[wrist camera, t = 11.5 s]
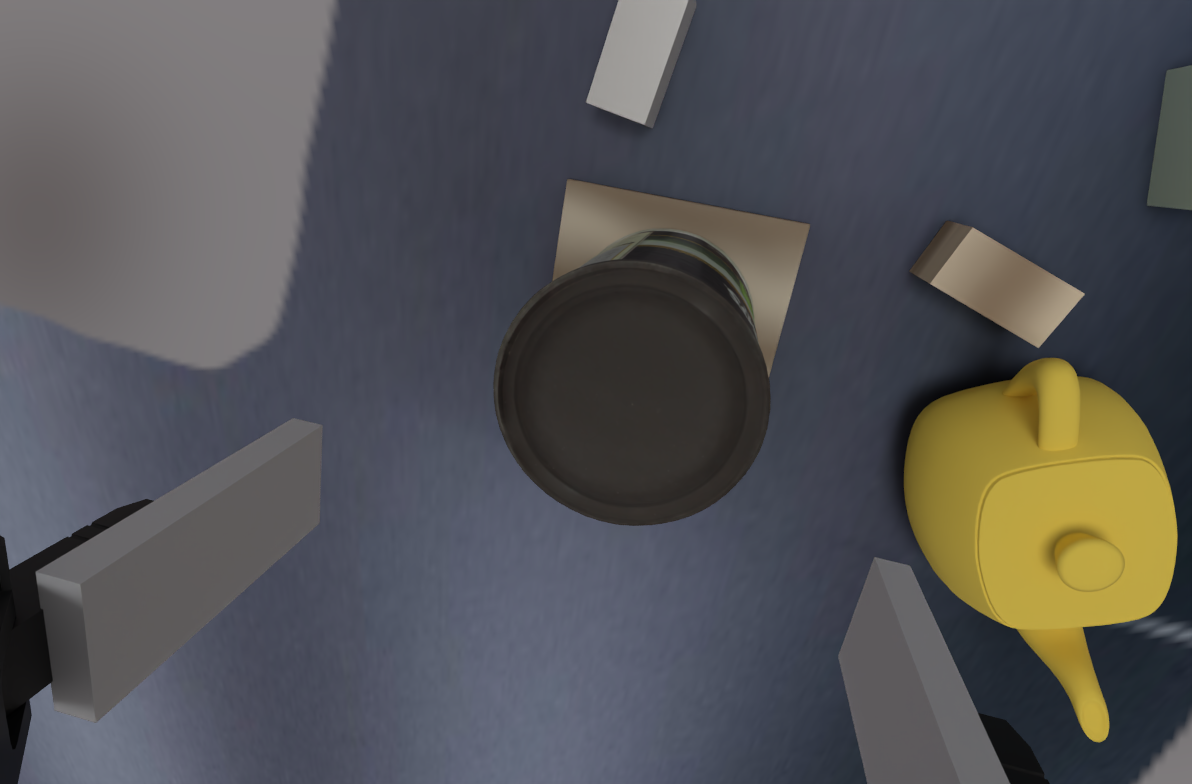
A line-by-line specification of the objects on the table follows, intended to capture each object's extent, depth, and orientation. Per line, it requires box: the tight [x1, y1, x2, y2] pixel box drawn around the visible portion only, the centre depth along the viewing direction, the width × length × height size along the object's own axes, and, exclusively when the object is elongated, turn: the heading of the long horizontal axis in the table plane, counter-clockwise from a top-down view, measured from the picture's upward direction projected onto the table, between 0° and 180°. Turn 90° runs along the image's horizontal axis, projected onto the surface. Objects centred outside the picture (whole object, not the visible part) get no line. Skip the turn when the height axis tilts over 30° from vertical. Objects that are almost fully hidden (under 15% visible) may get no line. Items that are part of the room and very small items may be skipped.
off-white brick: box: [586, 0, 696, 129], centre depth 33 cm, size 6×3×4 cm, turn 160°
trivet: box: [552, 179, 810, 377], centre depth 39 cm, size 13×13×1 cm
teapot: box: [904, 358, 1177, 742], centre depth 33 cm, size 18×11×11 cm, turn 14°
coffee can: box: [494, 228, 770, 526], centre depth 32 cm, size 10×10×14 cm
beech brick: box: [909, 221, 1084, 348], centre depth 34 cm, size 6×3×4 cm, turn 61°
